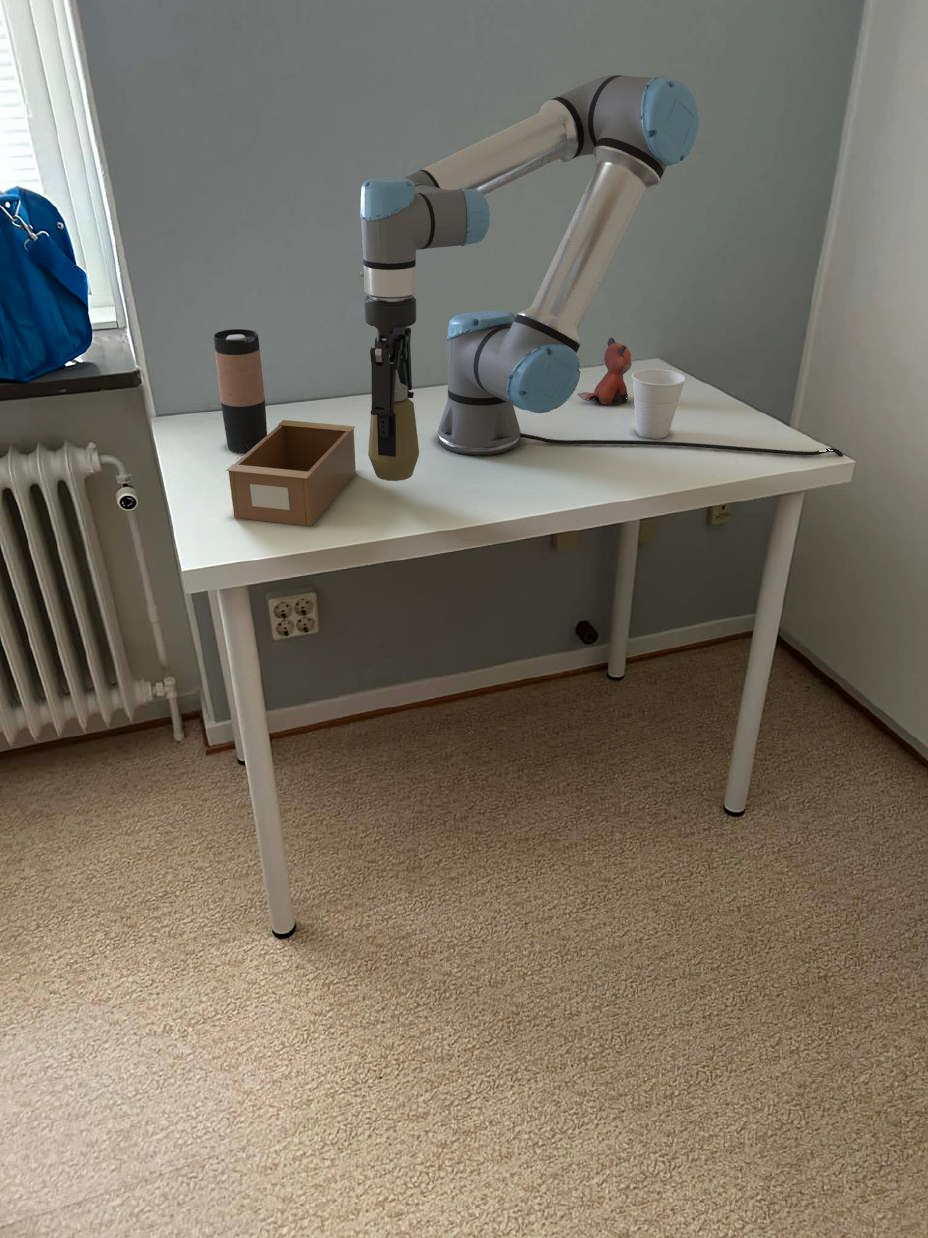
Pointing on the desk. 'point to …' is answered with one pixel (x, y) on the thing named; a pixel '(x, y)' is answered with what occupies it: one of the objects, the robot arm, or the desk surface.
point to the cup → (656, 400)
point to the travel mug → (241, 388)
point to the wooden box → (293, 473)
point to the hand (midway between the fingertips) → (393, 446)
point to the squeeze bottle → (397, 440)
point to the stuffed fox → (612, 376)
